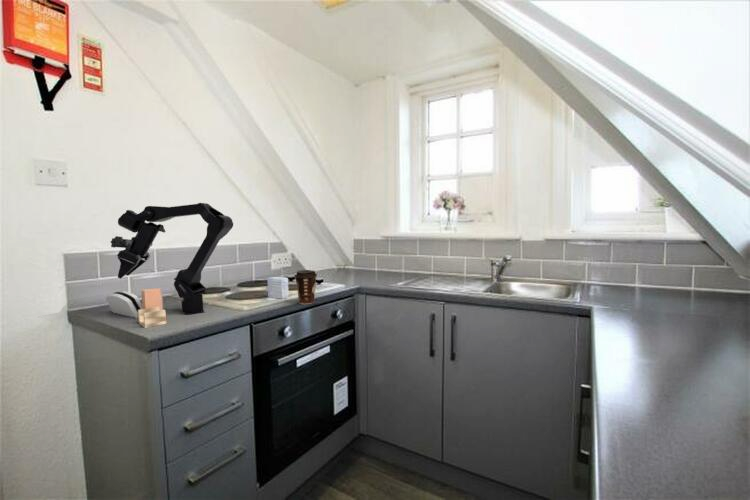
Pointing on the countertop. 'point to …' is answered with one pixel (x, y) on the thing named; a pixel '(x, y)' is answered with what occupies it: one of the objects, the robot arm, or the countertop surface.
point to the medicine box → (278, 287)
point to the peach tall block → (152, 298)
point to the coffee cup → (306, 286)
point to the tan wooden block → (151, 317)
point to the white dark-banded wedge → (124, 303)
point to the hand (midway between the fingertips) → (123, 276)
